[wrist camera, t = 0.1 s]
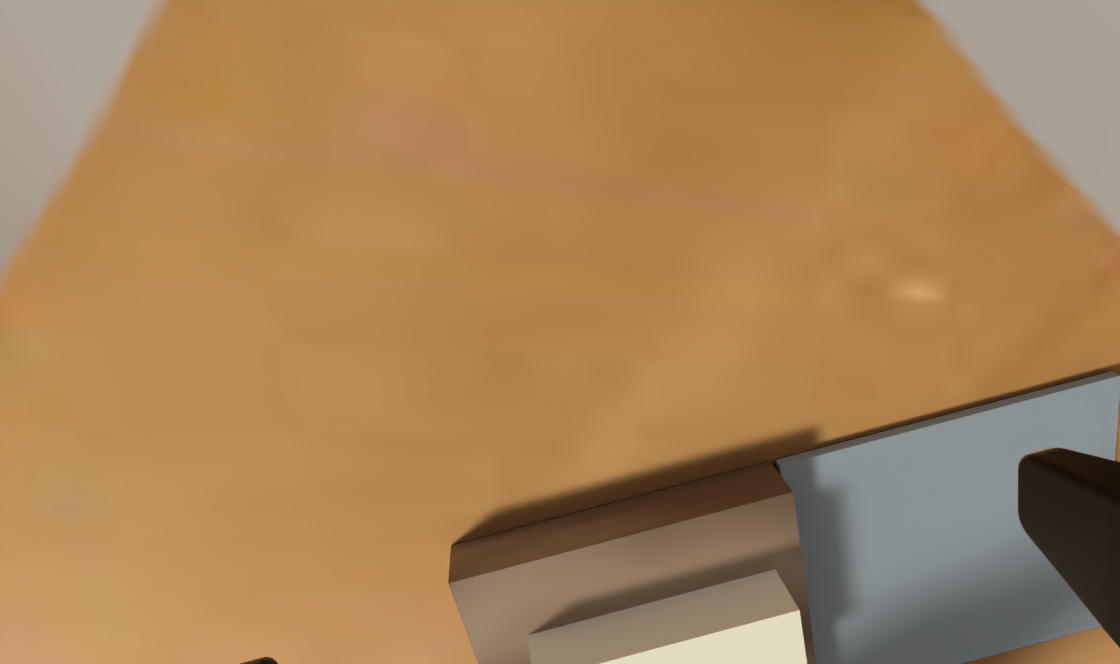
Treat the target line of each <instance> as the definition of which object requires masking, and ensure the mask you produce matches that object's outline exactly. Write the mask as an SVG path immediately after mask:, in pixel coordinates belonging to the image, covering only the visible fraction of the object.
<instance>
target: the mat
mask: <svg viewBox="0 0 1120 664" xmlns="http://www.w3.org/2000/svg"><path fill="white" fill-rule="evenodd" d="M1119 398H1120V375H1119V374H1117V373H1115V372H1113V371H1110V372H1106V373H1102V374H1098V375H1095V376H1091V377H1087V378H1083V379H1080V380H1076V381H1072V382H1068V383H1064V384H1061V385H1057V386H1053V387H1049V388H1046V389H1042V390H1038V391H1034V392H1030V393H1027V394H1023V395H1019V396H1015V397H1012V398H1008V399H1004V400H1000V401H996V402H993V403H989V404H985V405H981V406H978V407H974V408H970V409H966V410H962V411H959V412H955V413H951V414H947V415H944V416H940V417H936V418H932V419H928V420H925V421H921V422H917V423H913V424H910V425H906V426H902V427H898V428H894V429H891V430H887V431H883V432H879V433H876V434H872V435H868V436H864V437H860V438H857V439H853V440H849V441H845V442H842V443H838V444H834V445H830V446H826V447H823V448H819V449H815V450H811V451H807V452H804V453H800V454H796V455H792V456H789V457H785V458H781V459H777V460H776V467H777V471H778V472H779V474H780V475H781V476H782V478H783V479H784V480H785V482H786V483H787V484H788V486H789V487H790V488H791V490H792V491H793V494H794V502H795V509H796V517H797V524H798V531H799V539H800V546H801V554H802V561H803V568H804V576H805V583H806V591H807V598H808V605H809V613H810V620H811V628H812V635H813V643H814V650H815V657H816V664H963V663H966V662H970V661H974V660H978V659H981V658H985V657H989V656H992V655H996V654H1000V653H1004V652H1007V651H1011V650H1015V649H1018V648H1022V647H1026V646H1030V645H1033V644H1037V643H1041V642H1044V641H1048V640H1052V639H1056V638H1059V637H1063V636H1067V635H1070V634H1074V633H1078V632H1082V631H1085V630H1089V629H1093V628H1096V627H1100V626H1101V625H1100V624H1099V623H1098V621H1097V620H1096V619H1095V618H1094V617H1093V615H1092V614H1091V613H1090V612H1089V610H1088V609H1087V608H1086V607H1085V605H1084V604H1083V603H1082V602H1081V601H1080V599H1079V598H1078V597H1077V596H1076V594H1075V593H1074V592H1073V591H1072V589H1071V588H1070V587H1069V586H1068V584H1067V583H1066V582H1065V581H1064V580H1063V578H1062V577H1061V576H1060V575H1059V573H1058V572H1057V571H1056V570H1055V568H1054V567H1053V566H1052V565H1051V564H1050V562H1049V561H1048V560H1047V559H1046V557H1045V556H1044V555H1043V554H1042V552H1041V551H1040V550H1039V549H1038V547H1037V546H1036V545H1035V544H1034V543H1033V541H1032V540H1031V539H1030V538H1029V536H1028V535H1027V534H1026V532H1025V530H1024V529H1023V527H1022V525H1021V522H1020V520H1019V516H1018V465H1019V462H1020V460H1021V459H1022V458H1023V457H1024V456H1025V455H1027V454H1031V453H1035V452H1039V451H1042V450H1046V449H1050V448H1065V449H1069V450H1073V451H1077V452H1081V453H1085V454H1089V455H1093V456H1097V457H1101V458H1105V459H1109V460H1113V461H1115V458H1116V443H1117V428H1118V413H1119Z"/></svg>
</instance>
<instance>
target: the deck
mask: <svg viewBox="0 0 1120 664" xmlns="http://www.w3.org/2000/svg"><path fill="white" fill-rule="evenodd" d="M774 569H775V570H776V571H777V573H778V575H779V576H780V578H781V580H782V581H783V583H784V585H785V586H786V588H787V590H788V591H789V593H790V595H791V596H792V598H793V600H794V602H795V603H796V605H797V607H798V608H799V610H800V617H801V624H802V631H803V638H804V645H805V652H806V659H807V664H816V657H815V650H814V643H813V635H812V628H811V620H810V613H809V605H808V598H807V591H806V583H805V576H804V568H803V561H802V554H801V546H800V539H799V531H798V524H797V517H796V509H795V502H794V494H793V491H792V490H791V488H790V487H789V486H788V484H787V483H786V482H785V480H784V479H783V478H782V476H781V475H780V474H779V472H778V471H777V470H776V468H775V467H774V466H773V464H772V463H771V462H766V463H762V464H758V465H755V466H751V467H747V468H743V469H739V470H736V471H732V472H728V473H724V474H721V475H717V476H713V477H709V478H705V479H702V480H698V481H694V482H690V483H687V484H683V485H679V486H675V487H671V488H668V489H664V490H660V491H656V492H653V493H649V494H645V495H641V496H637V497H634V498H630V499H626V500H622V501H619V502H615V503H611V504H607V505H603V506H600V507H596V508H592V509H588V510H585V511H581V512H577V513H573V514H569V515H566V516H562V517H558V518H554V519H550V520H547V521H543V522H539V523H535V524H532V525H528V526H524V527H520V528H516V529H513V530H509V531H505V532H501V533H498V534H494V535H490V536H486V537H482V538H479V539H475V540H471V541H467V542H464V543H460V544H456V545H452V546H451V555H450V569H449V582H448V584H449V587H450V589H451V592H452V595H453V597H454V600H455V603H456V605H457V608H458V611H459V613H460V616H461V619H462V621H463V624H464V627H465V629H466V632H467V635H468V637H469V640H470V643H471V645H472V648H473V651H474V653H475V656H476V659H477V661H478V664H531V663H530V650H529V637H528V635H531V634H534V633H538V632H542V631H546V630H549V629H553V628H557V627H561V626H564V625H568V624H572V623H576V622H579V621H583V620H587V619H591V618H594V617H598V616H602V615H606V614H609V613H613V612H617V611H621V610H624V609H628V608H632V607H636V606H639V605H643V604H647V603H651V602H654V601H658V600H662V599H666V598H669V597H673V596H677V595H681V594H684V593H688V592H692V591H696V590H699V589H703V588H707V587H711V586H714V585H718V584H722V583H726V582H729V581H733V580H737V579H741V578H744V577H748V576H752V575H756V574H759V573H763V572H767V571H771V570H774Z"/></svg>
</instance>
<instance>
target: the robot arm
mask: <svg viewBox="0 0 1120 664" xmlns="http://www.w3.org/2000/svg"><path fill="white" fill-rule="evenodd" d="M1018 516H1019V520H1020V522H1021V525H1022V527H1023V529H1024V530H1025V532H1026V534H1027V535H1028V536H1029V538H1030V539H1031V540H1032V541H1033V543H1034V544H1035V545H1036V546H1037V547H1038V549H1039V550H1040V551H1041V552H1042V554H1043V555H1044V556H1045V557H1046V559H1047V560H1048V561H1049V562H1050V564H1051V565H1052V566H1053V567H1054V568H1055V570H1056V571H1057V572H1058V573H1059V575H1060V576H1061V577H1062V578H1063V580H1064V581H1065V582H1066V583H1067V584H1068V586H1069V587H1070V588H1071V589H1072V591H1073V592H1074V593H1075V594H1076V596H1077V597H1078V598H1079V599H1080V601H1081V602H1082V603H1083V604H1084V605H1085V607H1086V608H1087V609H1088V610H1089V612H1090V613H1091V614H1092V615H1093V617H1094V618H1095V619H1096V620H1097V621H1098V623H1099V624H1100V625H1101V626H1102V628H1103V629H1104V630H1105V631H1106V632H1107V634H1108V635H1109V636H1110V637H1111V638H1112V639H1113V641H1114V642H1115V643H1116V644H1117V645H1118V646H1119V647H1120V462H1117V461H1113V460H1109V459H1105V458H1101V457H1097V456H1093V455H1089V454H1085V453H1081V452H1077V451H1073V450H1069V449H1065V448H1050V449H1046V450H1042V451H1039V452H1035V453H1031V454H1027V455H1025V456H1024V457H1023V458H1022V459H1021V460H1020V462H1019V465H1018ZM240 664H278V663H277V662H276V661H275V660H274V659H273V658H271V657H263V658H259V659H255V660H251V661H248V662H244V663H240Z"/></svg>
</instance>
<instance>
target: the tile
mask: <svg viewBox="0 0 1120 664" xmlns="http://www.w3.org/2000/svg"><path fill="white" fill-rule="evenodd" d="M528 637H529V650H530V663H531V664H807V659H806V652H805V645H804V638H803V631H802V624H801V617H800V610H799V608H798V607H797V605H796V603H795V602H794V600H793V598H792V596H791V595H790V593H789V591H788V590H787V588H786V586H785V585H784V583H783V581H782V580H781V578H780V576H779V575H778V573H777V571H776V570H775V569H774V570H771V571H767V572H763V573H759V574H756V575H752V576H748V577H744V578H741V579H737V580H733V581H729V582H726V583H722V584H718V585H714V586H711V587H707V588H703V589H699V590H696V591H692V592H688V593H684V594H681V595H677V596H673V597H669V598H666V599H662V600H658V601H654V602H651V603H647V604H643V605H639V606H636V607H632V608H628V609H624V610H621V611H617V612H613V613H609V614H606V615H602V616H598V617H594V618H591V619H587V620H583V621H579V622H576V623H572V624H568V625H564V626H561V627H557V628H553V629H549V630H546V631H542V632H538V633H534V634H531V635H528Z"/></svg>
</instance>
